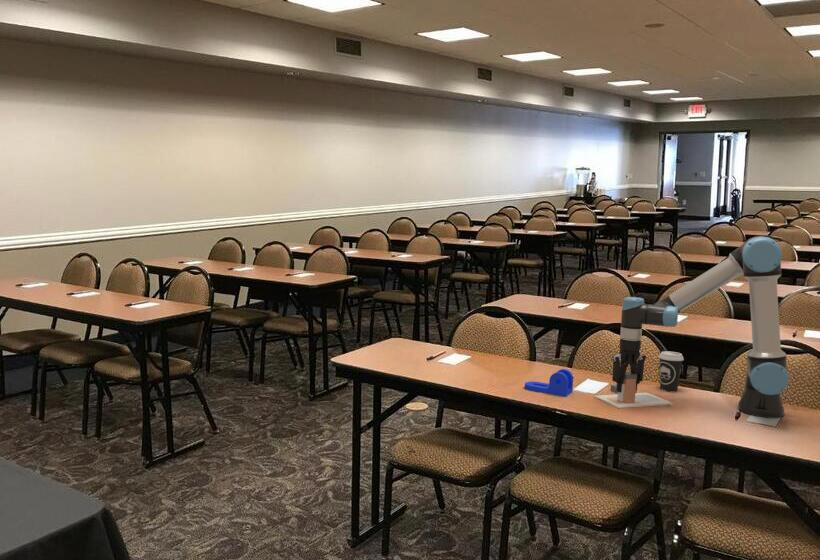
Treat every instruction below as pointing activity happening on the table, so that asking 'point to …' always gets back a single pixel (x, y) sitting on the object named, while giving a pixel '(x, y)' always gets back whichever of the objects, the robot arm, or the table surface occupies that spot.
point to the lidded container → (629, 387)
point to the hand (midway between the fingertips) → (626, 400)
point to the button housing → (614, 388)
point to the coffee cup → (670, 370)
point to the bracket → (554, 384)
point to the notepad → (640, 400)
